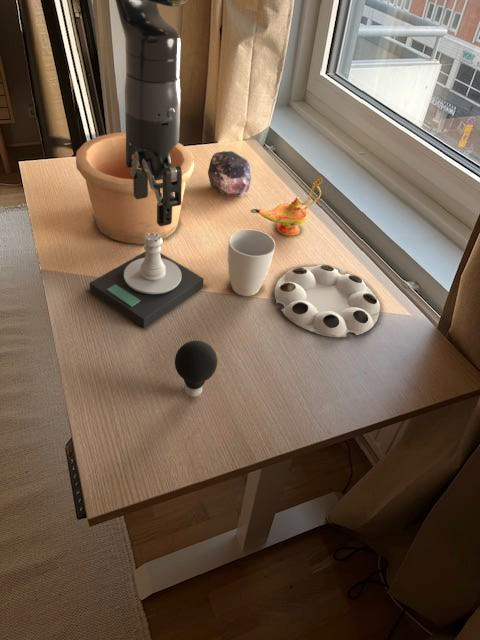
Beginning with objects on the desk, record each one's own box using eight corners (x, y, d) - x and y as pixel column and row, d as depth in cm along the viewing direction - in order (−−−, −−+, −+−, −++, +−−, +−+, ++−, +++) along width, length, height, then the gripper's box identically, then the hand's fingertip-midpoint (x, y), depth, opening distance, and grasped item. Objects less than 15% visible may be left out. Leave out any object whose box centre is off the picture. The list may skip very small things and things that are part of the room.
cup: (274, 297, 94) (283, 252, 88) (232, 304, 92) (239, 259, 85) (256, 270, 100) (264, 226, 93) (217, 277, 97) (221, 232, 90)
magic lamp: (238, 231, 109) (244, 183, 102) (304, 214, 117) (315, 169, 110) (255, 248, 105) (263, 200, 98) (323, 229, 113) (335, 184, 106)
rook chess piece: (156, 263, 93) (156, 225, 88) (170, 276, 91) (171, 238, 86) (135, 271, 91) (133, 233, 85) (149, 285, 89) (148, 246, 83)
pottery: (62, 212, 107) (53, 145, 97) (151, 185, 119) (151, 123, 109) (119, 265, 96) (115, 196, 86) (211, 230, 108) (217, 166, 98)
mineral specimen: (252, 175, 124) (257, 145, 115) (245, 210, 120) (249, 182, 111) (212, 167, 124) (213, 137, 115) (203, 202, 120) (204, 173, 111)
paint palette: (252, 288, 95) (254, 280, 94) (324, 256, 106) (326, 248, 104) (330, 353, 85) (332, 345, 84) (400, 310, 96) (404, 302, 94)
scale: (143, 328, 85) (143, 315, 83) (90, 291, 90) (88, 279, 88) (203, 287, 94) (204, 274, 92) (151, 256, 99) (151, 244, 97)
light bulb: (168, 383, 77) (170, 335, 70) (206, 375, 79) (211, 328, 72) (179, 414, 73) (182, 367, 66) (218, 405, 75) (225, 358, 68)
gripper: (107, 91, 74) (112, 193, 85) (150, 132, 66) (150, 239, 76) (155, 87, 77) (154, 185, 88) (201, 125, 69) (194, 228, 80)
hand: (152, 210), depth 82 cm, fingers open, 8 cm apart
